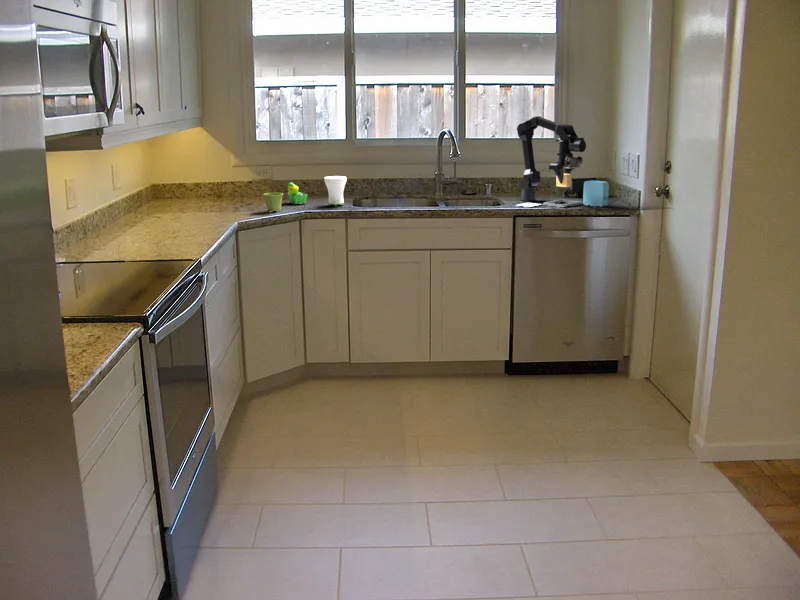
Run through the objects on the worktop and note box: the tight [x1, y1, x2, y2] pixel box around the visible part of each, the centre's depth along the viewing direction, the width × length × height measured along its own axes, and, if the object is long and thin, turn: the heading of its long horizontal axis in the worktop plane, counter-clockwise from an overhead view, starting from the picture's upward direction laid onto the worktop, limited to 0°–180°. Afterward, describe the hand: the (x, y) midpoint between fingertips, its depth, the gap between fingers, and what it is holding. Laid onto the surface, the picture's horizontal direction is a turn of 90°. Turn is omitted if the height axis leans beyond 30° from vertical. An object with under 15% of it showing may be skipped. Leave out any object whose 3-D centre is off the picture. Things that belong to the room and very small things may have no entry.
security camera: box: [562, 176, 598, 198], centre depth 413 cm, size 7×18×10 cm, turn 104°
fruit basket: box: [287, 182, 308, 205], centre depth 401 cm, size 11×9×11 cm
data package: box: [582, 180, 610, 208], centre depth 382 cm, size 12×4×12 cm, turn 38°
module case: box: [542, 198, 583, 208], centre depth 386 cm, size 12×16×2 cm
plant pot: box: [263, 192, 284, 211], centre depth 376 cm, size 9×9×9 cm
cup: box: [323, 175, 348, 207], centre depth 393 cm, size 11×11×14 cm
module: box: [555, 173, 573, 188], centre depth 383 cm, size 6×4×6 cm, turn 44°
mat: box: [515, 202, 543, 208], centre depth 385 cm, size 9×10×1 cm
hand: (563, 183), depth 383 cm, fingers closed on module, 4 cm apart
